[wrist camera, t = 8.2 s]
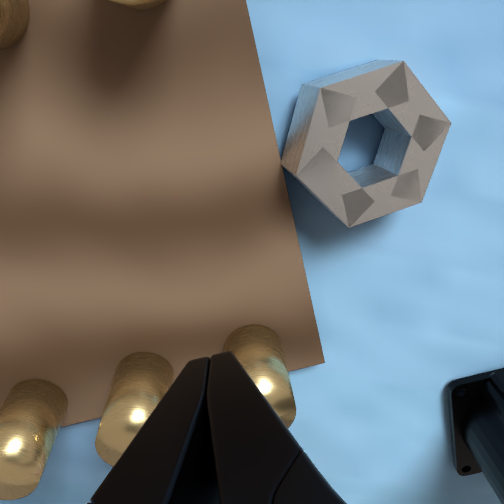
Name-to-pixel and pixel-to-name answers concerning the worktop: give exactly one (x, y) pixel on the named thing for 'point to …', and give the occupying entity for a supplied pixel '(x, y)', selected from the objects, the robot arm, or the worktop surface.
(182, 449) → the robot arm
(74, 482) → the worktop surface
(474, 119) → the worktop surface
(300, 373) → the worktop surface
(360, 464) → the worktop surface
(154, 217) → the board
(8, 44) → the brass spacers
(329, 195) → the steel nut
